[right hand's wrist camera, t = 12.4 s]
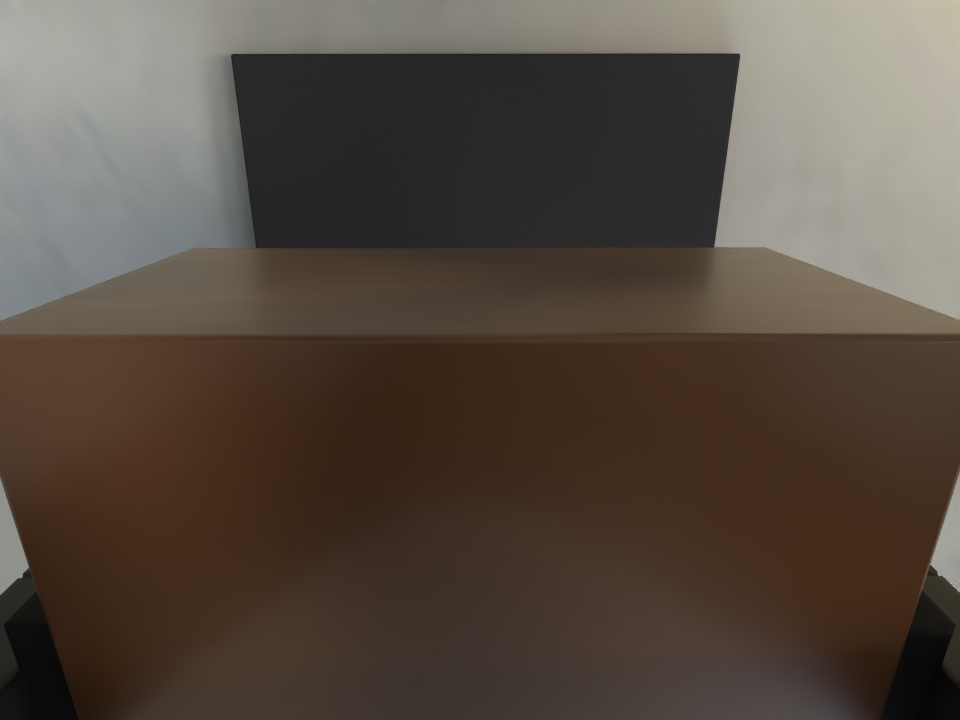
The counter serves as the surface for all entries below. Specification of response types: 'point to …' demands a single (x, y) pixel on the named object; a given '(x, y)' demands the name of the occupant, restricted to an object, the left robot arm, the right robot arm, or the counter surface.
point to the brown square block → (479, 484)
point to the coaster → (485, 149)
